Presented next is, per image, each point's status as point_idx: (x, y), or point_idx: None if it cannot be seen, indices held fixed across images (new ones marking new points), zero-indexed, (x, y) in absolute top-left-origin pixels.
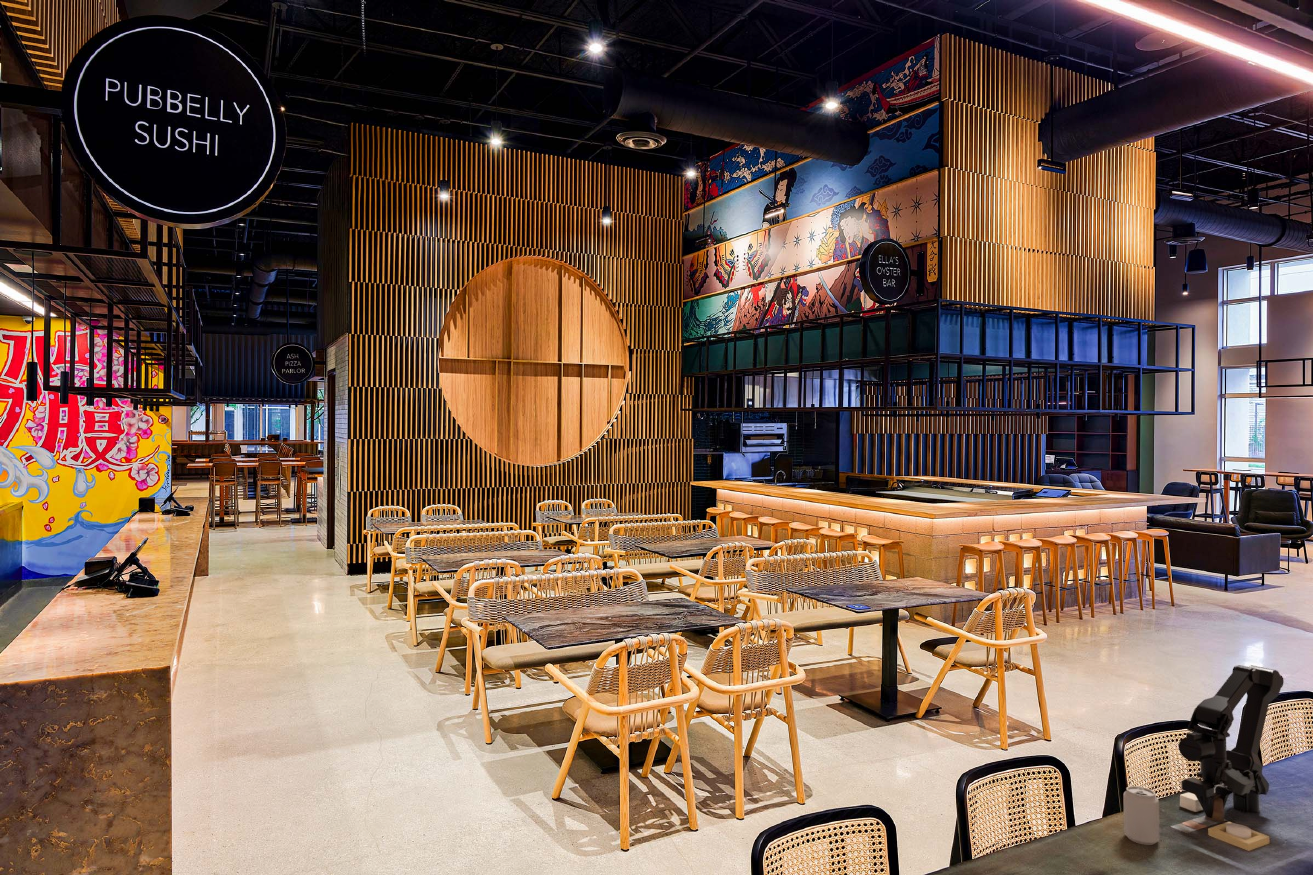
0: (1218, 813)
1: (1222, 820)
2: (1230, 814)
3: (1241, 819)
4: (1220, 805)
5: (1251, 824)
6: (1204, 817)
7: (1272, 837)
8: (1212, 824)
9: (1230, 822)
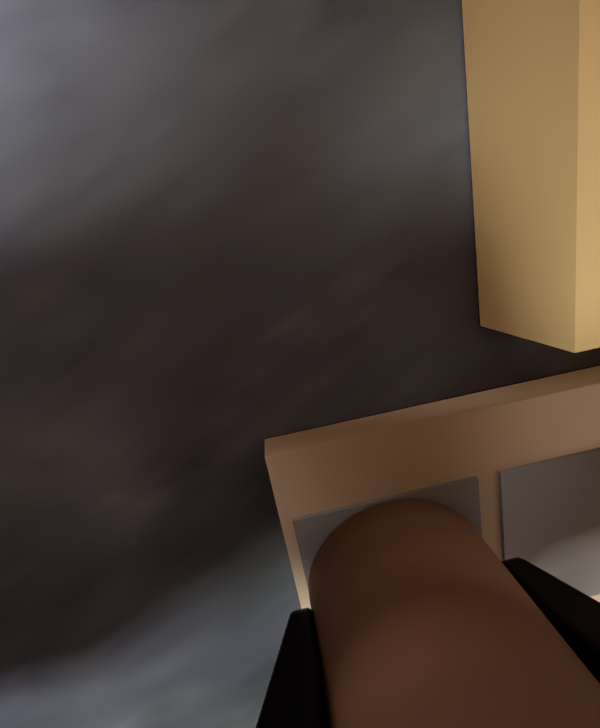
0: (497, 578)
1: (391, 504)
2: (38, 653)
3: (19, 545)
4: (565, 726)
5: (11, 420)
6: None
7: (70, 6)
8: (583, 455)
9: (583, 322)
